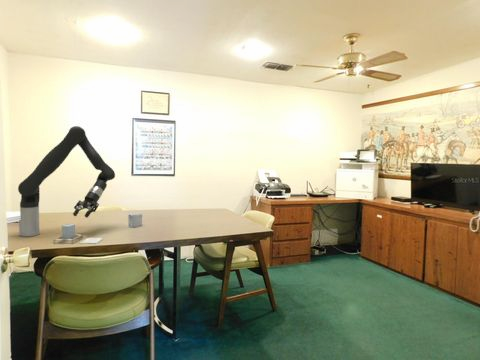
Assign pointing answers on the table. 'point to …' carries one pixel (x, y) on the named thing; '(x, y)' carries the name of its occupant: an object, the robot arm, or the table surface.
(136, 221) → the medicine box
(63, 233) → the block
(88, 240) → the mat
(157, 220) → the table surface
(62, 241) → the well board
